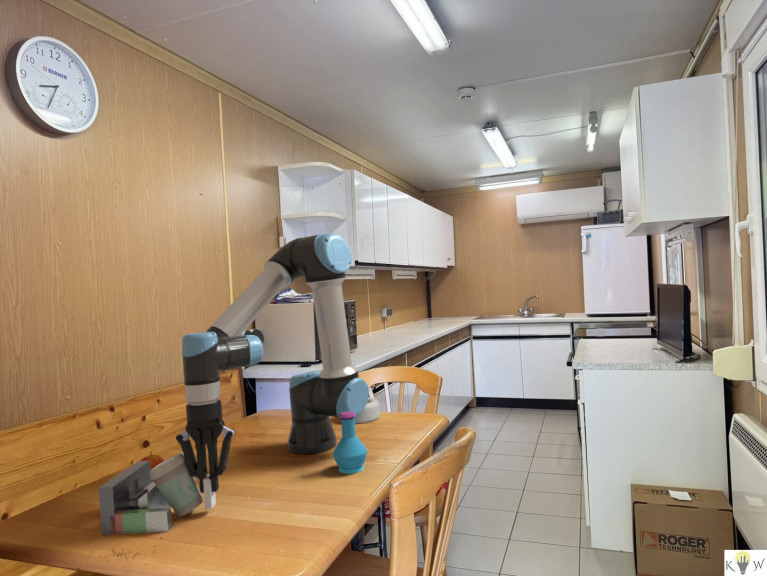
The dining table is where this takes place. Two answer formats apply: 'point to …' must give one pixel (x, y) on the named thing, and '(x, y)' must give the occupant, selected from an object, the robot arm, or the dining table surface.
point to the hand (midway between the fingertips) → (210, 506)
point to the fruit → (153, 460)
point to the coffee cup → (177, 484)
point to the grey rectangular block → (149, 499)
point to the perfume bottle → (349, 447)
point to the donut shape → (369, 412)
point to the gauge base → (117, 504)
